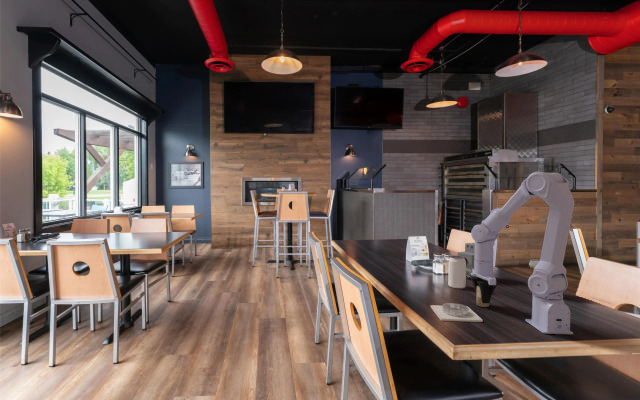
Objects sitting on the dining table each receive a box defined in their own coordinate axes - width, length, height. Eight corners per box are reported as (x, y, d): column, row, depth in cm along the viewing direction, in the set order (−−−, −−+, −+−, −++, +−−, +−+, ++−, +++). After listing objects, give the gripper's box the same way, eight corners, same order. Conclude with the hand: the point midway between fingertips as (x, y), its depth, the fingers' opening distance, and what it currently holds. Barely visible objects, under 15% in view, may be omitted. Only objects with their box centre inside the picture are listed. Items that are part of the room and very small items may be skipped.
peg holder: (482, 322, 102) (482, 314, 102) (441, 320, 103) (441, 313, 103) (467, 308, 114) (467, 301, 114) (430, 307, 115) (430, 300, 115)
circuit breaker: (454, 277, 154) (455, 244, 154) (477, 274, 160) (478, 242, 160) (468, 281, 148) (468, 246, 147) (491, 278, 154) (492, 244, 153)
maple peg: (491, 307, 114) (491, 289, 114) (479, 306, 115) (479, 288, 115) (486, 303, 118) (486, 285, 118) (474, 302, 119) (474, 285, 119)
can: (466, 289, 136) (467, 258, 135) (449, 288, 137) (450, 258, 137) (463, 284, 142) (464, 255, 142) (446, 283, 143) (447, 255, 143)
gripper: (463, 256, 124) (463, 293, 124) (480, 264, 109) (479, 307, 110) (484, 256, 123) (483, 294, 124) (503, 265, 109) (502, 308, 109)
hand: (482, 300), depth 117 cm, fingers closed on maple peg, 4 cm apart
